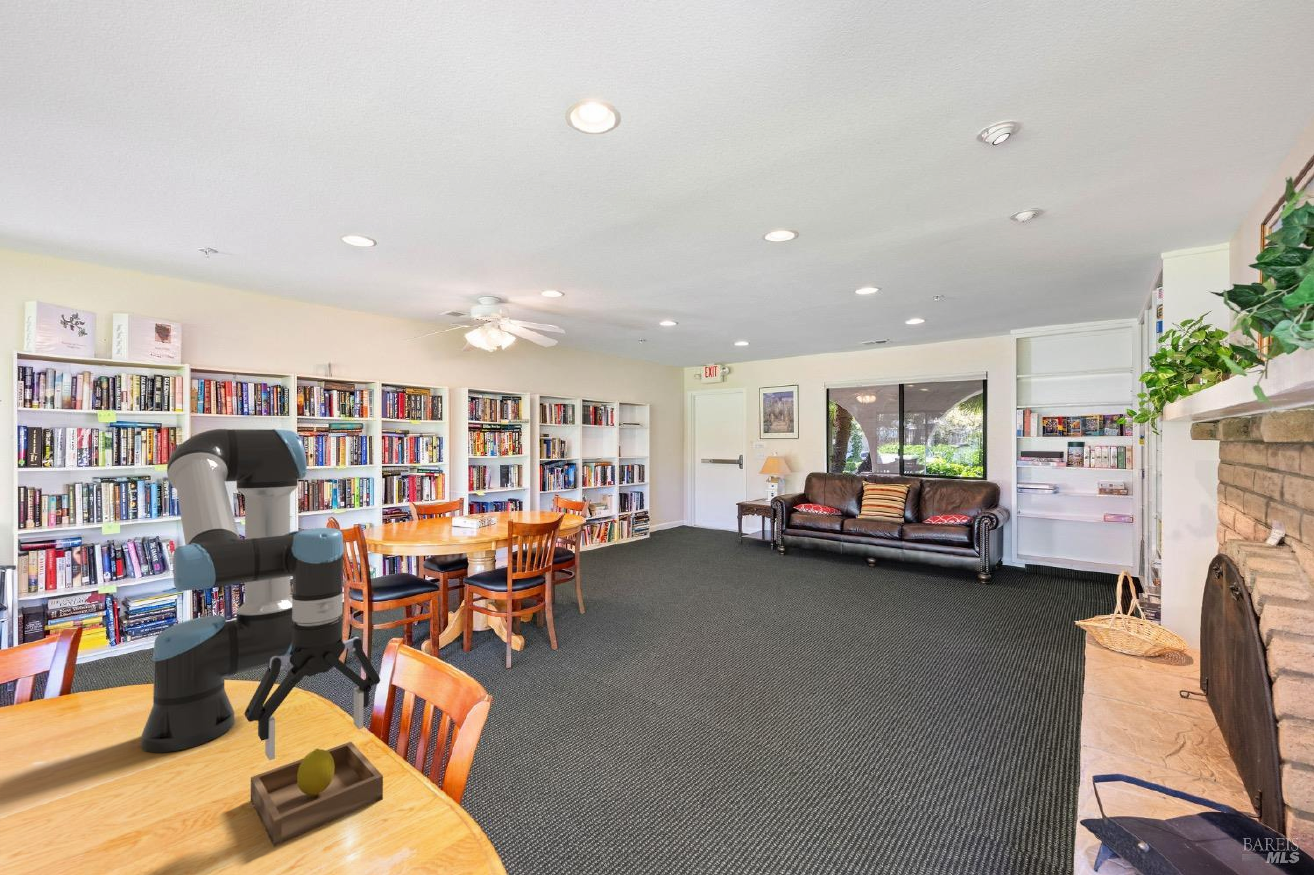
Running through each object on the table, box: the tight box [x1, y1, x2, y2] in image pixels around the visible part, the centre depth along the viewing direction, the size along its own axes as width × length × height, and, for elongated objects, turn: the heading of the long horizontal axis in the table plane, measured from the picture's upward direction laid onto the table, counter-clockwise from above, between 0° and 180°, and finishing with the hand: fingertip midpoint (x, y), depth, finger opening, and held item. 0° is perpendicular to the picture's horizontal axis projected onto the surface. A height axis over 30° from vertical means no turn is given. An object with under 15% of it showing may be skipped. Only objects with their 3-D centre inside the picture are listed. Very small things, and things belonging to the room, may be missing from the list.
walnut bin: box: [250, 741, 384, 848], centre depth 97 cm, size 16×16×4 cm
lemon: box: [297, 748, 335, 796], centre depth 97 cm, size 6×6×8 cm
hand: (316, 740), depth 98 cm, fingers open, 13 cm apart
